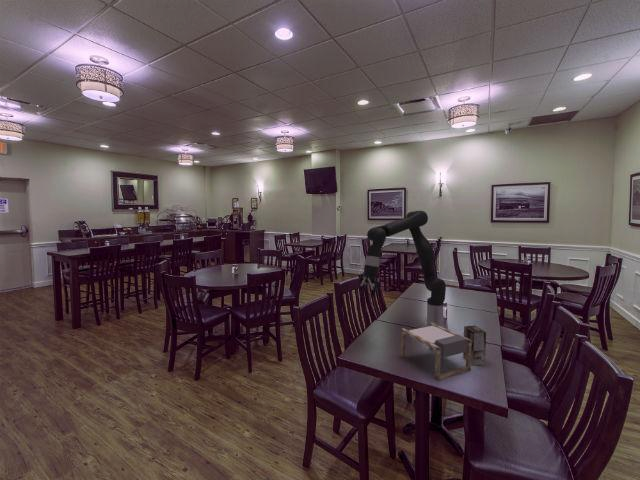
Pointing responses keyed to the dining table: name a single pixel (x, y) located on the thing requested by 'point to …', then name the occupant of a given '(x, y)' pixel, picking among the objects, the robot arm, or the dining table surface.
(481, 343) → the coffee box
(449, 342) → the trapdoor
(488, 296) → the dining table surface
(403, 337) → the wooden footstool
